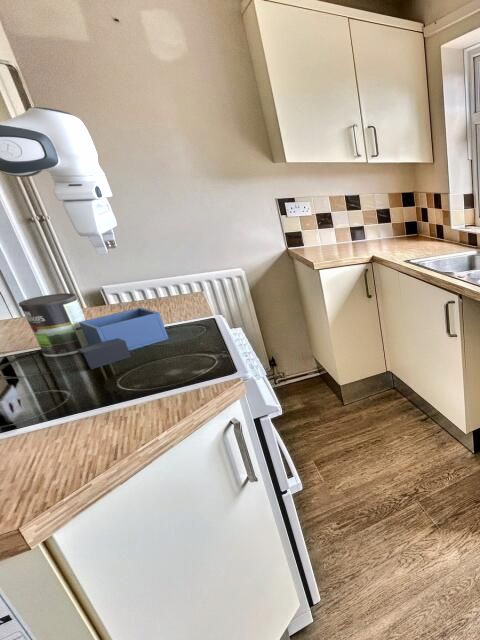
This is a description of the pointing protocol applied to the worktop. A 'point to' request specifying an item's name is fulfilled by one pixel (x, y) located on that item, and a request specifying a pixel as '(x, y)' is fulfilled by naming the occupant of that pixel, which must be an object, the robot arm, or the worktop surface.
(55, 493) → the worktop surface
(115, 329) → the blue box
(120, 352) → the dark gray block
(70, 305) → the coffee can
